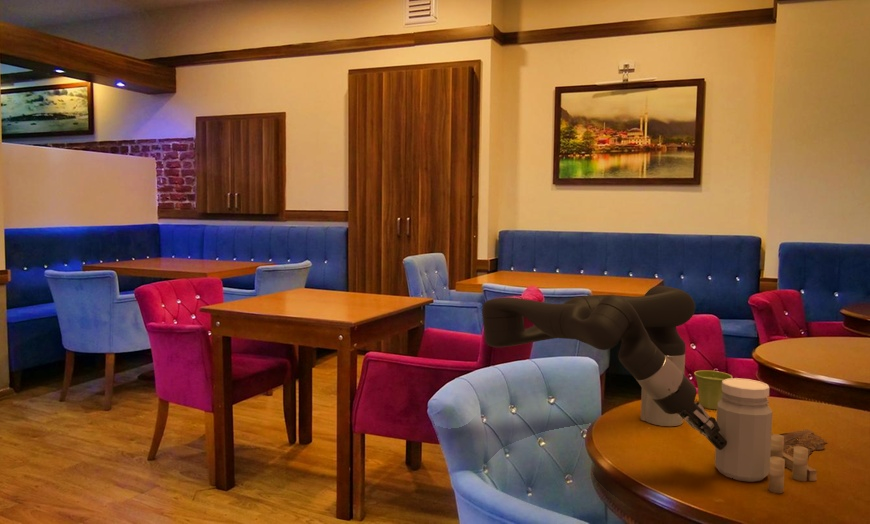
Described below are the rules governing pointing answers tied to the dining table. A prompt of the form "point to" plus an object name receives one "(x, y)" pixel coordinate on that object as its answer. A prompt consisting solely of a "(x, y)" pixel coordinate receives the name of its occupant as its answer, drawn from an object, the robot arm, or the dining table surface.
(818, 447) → the wooden fragment
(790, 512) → the dining table surface
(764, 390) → the jar
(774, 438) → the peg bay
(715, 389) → the plant pot
